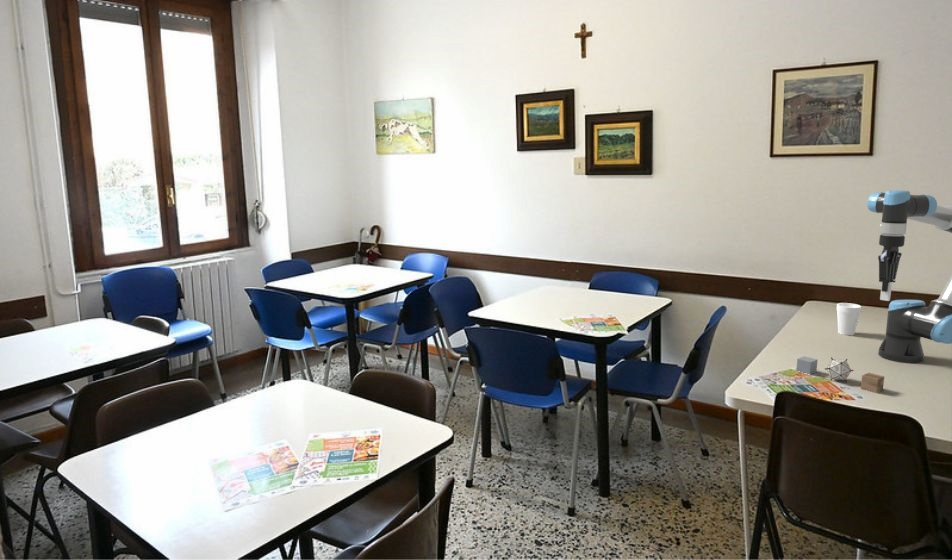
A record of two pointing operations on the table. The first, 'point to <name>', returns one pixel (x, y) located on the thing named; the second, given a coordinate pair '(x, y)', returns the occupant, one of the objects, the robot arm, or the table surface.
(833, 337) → the table surface
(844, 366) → the white icosahedron
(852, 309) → the foam cup
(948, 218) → the robot arm
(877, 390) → the walnut block
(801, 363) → the grey block
